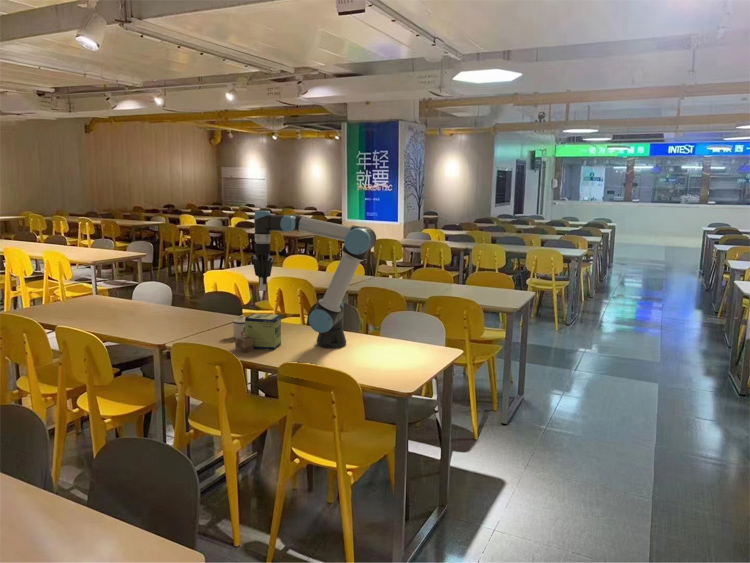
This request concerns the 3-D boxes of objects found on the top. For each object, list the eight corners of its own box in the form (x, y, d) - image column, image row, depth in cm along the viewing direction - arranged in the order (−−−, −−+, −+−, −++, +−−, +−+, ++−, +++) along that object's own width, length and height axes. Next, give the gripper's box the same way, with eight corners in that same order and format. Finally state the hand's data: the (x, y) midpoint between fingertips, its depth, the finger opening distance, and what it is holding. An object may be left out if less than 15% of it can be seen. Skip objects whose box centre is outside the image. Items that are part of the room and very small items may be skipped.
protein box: (275, 350, 278) (274, 319, 275) (244, 348, 280) (244, 317, 277) (281, 344, 288) (281, 314, 285) (252, 342, 290) (252, 313, 288)
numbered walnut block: (253, 350, 277) (253, 337, 276) (244, 353, 272) (244, 340, 271) (244, 348, 280) (243, 335, 279) (235, 351, 275) (235, 338, 274)
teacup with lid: (243, 340, 294) (242, 318, 293) (229, 337, 299) (229, 316, 297) (258, 335, 305) (258, 314, 303) (245, 332, 309) (244, 312, 307)
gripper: (246, 242, 275) (247, 290, 279) (268, 244, 269) (268, 293, 273) (257, 241, 282) (257, 288, 286) (278, 243, 276) (278, 291, 279)
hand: (262, 290), depth 279 cm, fingers closed
